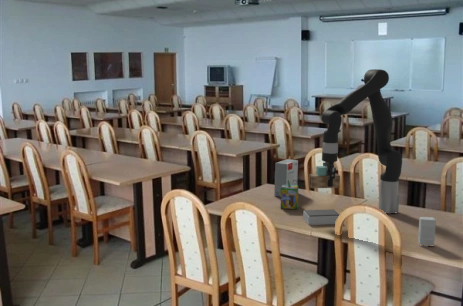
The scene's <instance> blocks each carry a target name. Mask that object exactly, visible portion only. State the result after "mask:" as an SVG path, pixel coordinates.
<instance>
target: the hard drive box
mask: <svg viewBox="0 0 463 306" xmlns="http://www.w3.org/2000/svg"><path fill="white" fill-rule="evenodd" d="M298 165H299V160H296V159H288V158H287V159H283V160H281V161H278V162H275V166H274V168H275V169H274V170H275V171H274V191H273V195H274V196H275V197H280V198H281V187H282V185H288V180H289V183H290V185H298V174H299V173H298V170H299V166H298Z"/></svg>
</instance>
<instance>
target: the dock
mask: <svg viewBox="0 0 463 306" xmlns="http://www.w3.org/2000/svg"><path fill="white" fill-rule="evenodd" d="M339 215H341V214H340V213H339V212H338V211H336V210H335V209H333V208H332V209H330V208H329V209H328V208H327V209H304V210H303V212H302V219H303V220H304V222H305V223H307V225H308V226H314V225H315V226H316V225H336V224H335V221H336V219H337V218H338V216H339Z"/></svg>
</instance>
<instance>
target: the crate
mask: <svg viewBox="0 0 463 306" xmlns="http://www.w3.org/2000/svg"><path fill="white" fill-rule="evenodd" d="M326 170H327V168H326V167H325V166H323V165H319V166H318V165H317V166H316V167H315V174H316V175H318V176H326Z"/></svg>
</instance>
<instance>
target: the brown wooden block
mask: <svg viewBox="0 0 463 306" xmlns="http://www.w3.org/2000/svg"><path fill="white" fill-rule="evenodd" d="M331 176H332V175H331ZM340 183H341V175H340V174H338V173H335V179H333V186H332V187H328V175H327V174H326V176H318V175H316V173H309V174H308V187H310V188H311V189H334V188H335V189H338V188H339V189H340V185H341V184H340Z"/></svg>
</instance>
